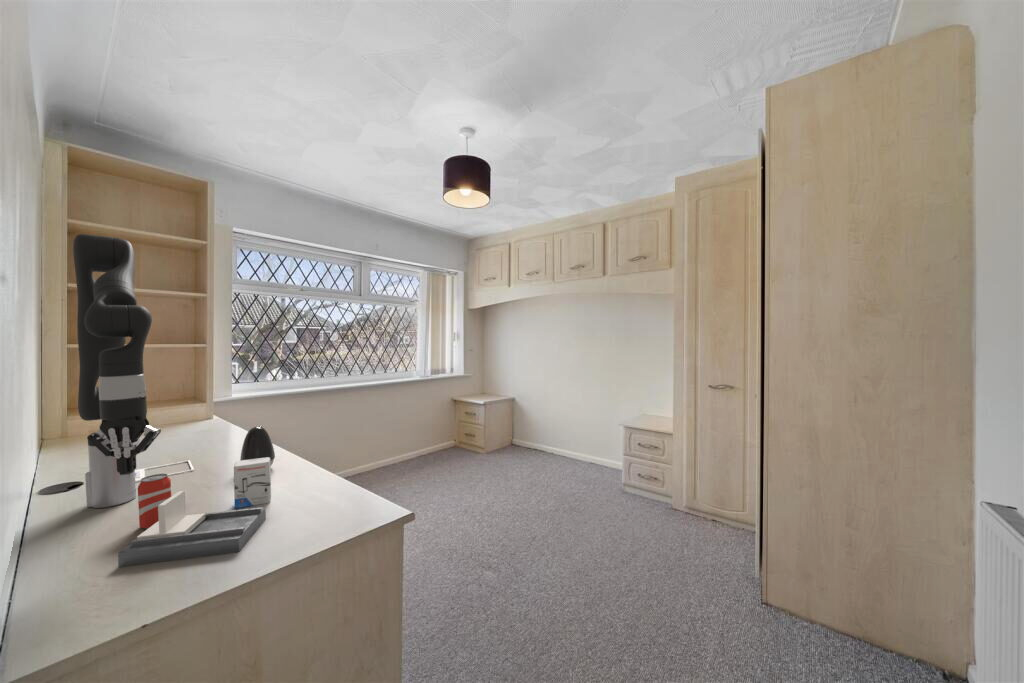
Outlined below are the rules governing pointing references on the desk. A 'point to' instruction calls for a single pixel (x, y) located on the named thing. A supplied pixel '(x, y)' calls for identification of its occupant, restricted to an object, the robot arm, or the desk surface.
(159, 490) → the beverage can
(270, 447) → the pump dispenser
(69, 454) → the desk surface
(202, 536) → the socket plate
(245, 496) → the ink box
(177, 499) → the t-shaped bracket
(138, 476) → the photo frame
